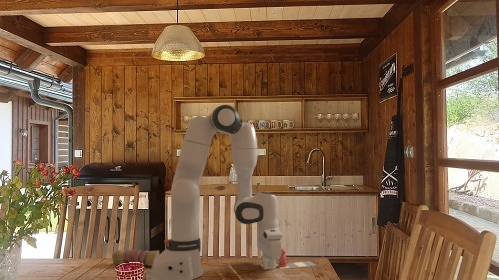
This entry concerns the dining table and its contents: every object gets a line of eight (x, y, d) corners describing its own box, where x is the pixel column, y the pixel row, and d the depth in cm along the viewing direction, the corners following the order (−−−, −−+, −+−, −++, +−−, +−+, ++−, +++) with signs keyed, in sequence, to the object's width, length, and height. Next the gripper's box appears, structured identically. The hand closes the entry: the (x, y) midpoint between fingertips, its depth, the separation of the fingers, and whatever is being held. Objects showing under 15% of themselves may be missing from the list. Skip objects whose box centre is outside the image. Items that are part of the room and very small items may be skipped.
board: (280, 271, 156) (280, 268, 156) (275, 267, 161) (275, 264, 161) (316, 267, 160) (316, 265, 160) (310, 263, 166) (310, 261, 166)
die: (263, 271, 155) (263, 257, 155) (260, 267, 159) (260, 254, 160) (276, 269, 156) (276, 256, 156) (272, 266, 161) (272, 253, 161)
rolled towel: (163, 260, 169) (122, 258, 173) (160, 246, 166) (118, 244, 170) (157, 272, 162) (113, 270, 166) (153, 258, 159) (109, 256, 163)
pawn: (279, 267, 157) (279, 250, 157) (276, 265, 160) (276, 247, 161) (288, 266, 158) (288, 249, 158) (285, 264, 161) (284, 247, 162)
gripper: (253, 226, 168) (253, 258, 167) (268, 236, 148) (269, 272, 147) (267, 226, 169) (267, 257, 169) (284, 235, 150) (284, 271, 149)
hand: (268, 264), depth 158 cm, fingers closed on die, 5 cm apart
